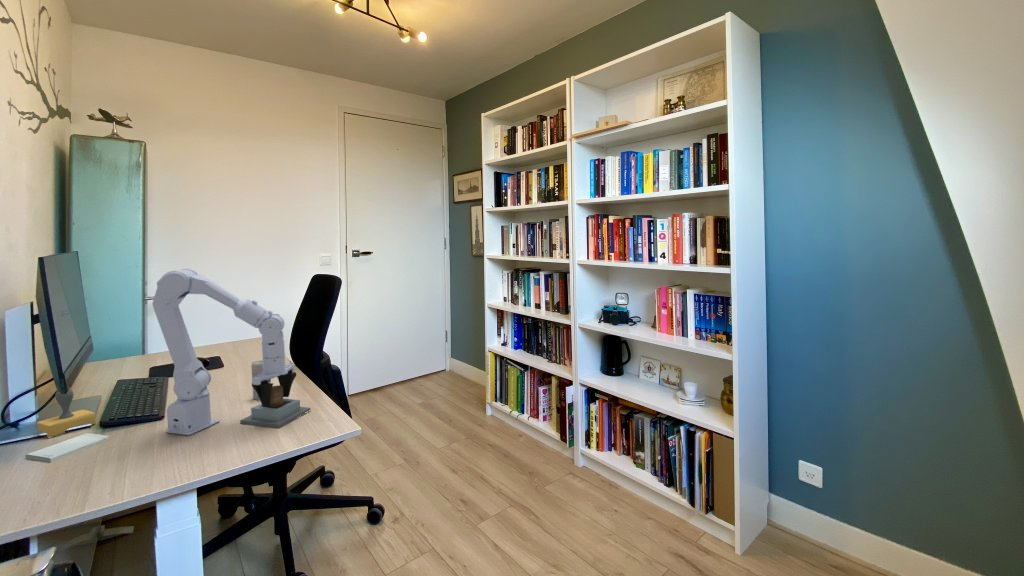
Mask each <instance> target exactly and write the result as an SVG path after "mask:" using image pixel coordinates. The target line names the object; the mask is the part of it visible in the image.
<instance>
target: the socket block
mask: <svg viewBox="0 0 1024 576" xmlns="http://www.w3.org/2000/svg"><path fill="white" fill-rule="evenodd" d="M283 401H284V406H282V407H280V408H278V409H275V408H268V406H262V403H261V402H260V404H258V405H255V406H252V407H251V409H250V412H251V413H250V414H251V415H248V416H246V417H244V418H241V419H240V420H239V422H240V423H239V424H241V425H250V426H258V427H259V426H260V427H265V428H266V427H267V428H273V429H275V428H276V429H280V428H282V427H284V426H286V425H287V424H290V423H291V422H293V421H295V420H297V419H298V418H297V417H299V416H300V415H302V414H304V413H305V412H307V411H309V410H310V411H311V407H304V406H301V402H300V401H301V400H300V399H292V398H285V397H283ZM304 415H305V414H304ZM302 416H303V415H302ZM300 417H301V416H300ZM300 417H299V418H300ZM296 418H297V419H296ZM294 419H295V420H294ZM292 420H293V421H292ZM289 422H290V423H289Z"/></svg>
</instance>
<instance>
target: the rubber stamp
mask: <svg viewBox="0 0 1024 576" xmlns="http://www.w3.org/2000/svg"><path fill="white" fill-rule="evenodd" d="M68 388H69V390H68V392H67V393H66V394H61V393H60V392H58V390H59V389H58V390H56V391H55V396H54V397H55V400H56V402H57V404H58V405H59V406H60V408H61V410H62V414H60V415H58V416H54V417H50V418H46V419H44V420H39V421H37V422H36V425H37V432H38V431H42V432H45V433H47V437H52V438H55V437H54V436H56V437H58V436H57V435H59V436H61V435H60V434H62V435H64V434H63V433H65V431H67V429H69V428H71V427H75V426H79V425H83V424H86V423H92V424H95V425H97V420H96V412H94V411H91V410H86V409H80V410H76V411H72V412H71V411H70V406H71V403H72V401H73V399H74V391H73V390H72V389H71V388H70V387H68ZM65 434H66V433H65Z"/></svg>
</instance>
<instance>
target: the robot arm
mask: <svg viewBox="0 0 1024 576" xmlns="http://www.w3.org/2000/svg"><path fill="white" fill-rule="evenodd" d="M156 287H157V288H156V291H155V293H154V298H153V300H152V308H153V311H154V313H155V315H156V316H155V317H156V319H157V322H158V324H159V327H160V330H161V333H162V335H163V338H164V340H165V343H166V346H167V349H168V352H169V355H170V357H171V360H172V363H173V365H174V367H173V375H172V377H173V380H174V381H173V382H174V384H173V392H174V394H175V395H176V397H177V398H176V400H174V402H172V403H170V404H169V405H168V407H167V409H166V417H167V419H166V421H167V430H166V431H165V433H170V434H176V435H183V436H184V435H185V436H191V435H192V434H196V433H197V432H199V431H201V430H204V429H206V428H208V427H211V426H212V425H215V424H218V423H219V422H220V420H219V419H213V418H212V412H211V411H212V410H211V398H210V396H211V395H210V389H208V385H210V383H211V381H212V376H211V373H210V371H208V370H207V369H206V368H205V367H204V364H203V362H202V361H200V360H199V359H198V358H197V354H196V352H195V349H194V345H193V344H192V340H191V338H190V335H189V332H188V330H187V329H188V328H187V327H186V326H187V325H186V323H185V320H184V318H183V314H182V311H181V309H180V304H181V303H182V301H183V300H184V299H185V298H186V297H187V295H205V296H206V297H209V298H211V299H213V300H214V301H217V302H218V303H220V304H222V305H224V306H226V307H228V309H229V308H230V309H232V311H233V313H234V316H235V317H236V318H238V319H239V320H241V321H243V322H245V323H247V325H250V326H251V327H253V328H255V329H258V331H259V333H260V335H261V338H262V339H261V340H262V341H261V350H262V353H261V354H262V360H263V372H262V373H260V374H259V375H257V376H255V377H253V378H252V377H251V387H252V389H253V388H254V389H255V391H256V392H257V394H258V396H259V398H260V400H259V401H260V404H261V403H262V406H270V400H271V389H272V386H274V383H272V382H271V383H268V382H267V380H270V379H271V380H272V379H275V378H277V379H278V384H279V386H283V398H289V397H290V394H291V388H292V386H293V383H294V380H295V378H296V377H297V372H295V371H296V364H293V363H288V364H286V360H285V359H286V353H285V339H284V331H283V329H284V327H285V320H284V318H283V317H282V316H281V315H280V314H278V313H273V311H272V310H267V309H266V308H264V307H262V306H261V305H259V304H258V301H257V300H255V299H253V300H251V299H240V298H238V297H237V296H235V295H234V294H232V293H231V292H229V291H228V290H226V289H225V288H224V287H222V286H221V285H219V284H217V283H215V281H213V280H211V279H210V278H208V277H206V276H205V275H203V274H200V273H198V272H196V271H195V270H193V269H192V268H191V269H190V268H184V269H180V270H171V271H168V272H166V273H164V274H163V275H162V276H161V277H160V278H159V280H158V281H157V282H156Z"/></svg>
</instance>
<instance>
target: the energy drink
mask: <svg viewBox="0 0 1024 576" xmlns="http://www.w3.org/2000/svg"><path fill="white" fill-rule="evenodd" d="M250 368H251V379H252V378H253V377H255V376H257V375H259V374H260V373H262V372H263V359H262V360H256V361H252V362H251V367H250ZM267 382H268V383H272V379H270V380H267ZM252 398H253V399H254V400H256V401H260V398H259V396H258V394H257V392H256V391H255V389H254V388H253V387H252Z"/></svg>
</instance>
